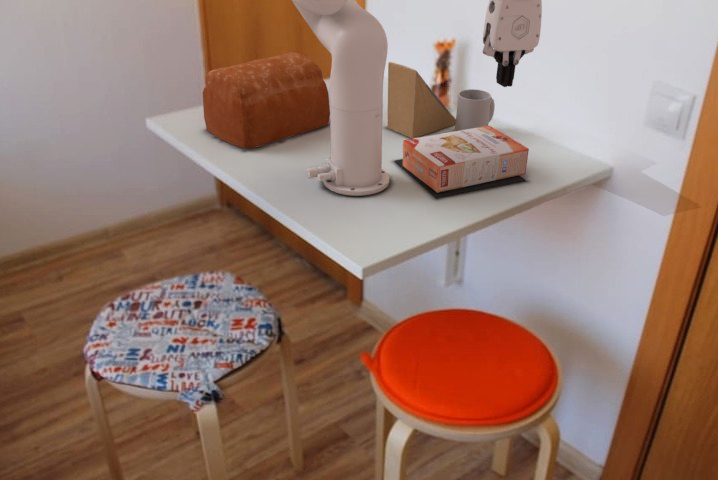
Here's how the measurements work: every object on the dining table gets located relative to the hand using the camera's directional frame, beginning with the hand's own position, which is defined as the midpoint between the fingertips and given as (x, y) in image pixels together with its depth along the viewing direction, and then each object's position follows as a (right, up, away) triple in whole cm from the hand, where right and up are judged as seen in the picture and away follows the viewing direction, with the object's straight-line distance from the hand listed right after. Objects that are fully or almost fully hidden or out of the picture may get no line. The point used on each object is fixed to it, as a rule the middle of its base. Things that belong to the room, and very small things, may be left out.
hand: (504, 84), depth 139 cm
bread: (-49, -4, +21) cm, 54 cm away
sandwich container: (-15, -2, +26) cm, 30 cm away
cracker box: (+2, -11, +8) cm, 14 cm away
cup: (-3, -4, +24) cm, 25 cm away
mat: (-8, -16, +6) cm, 19 cm away
